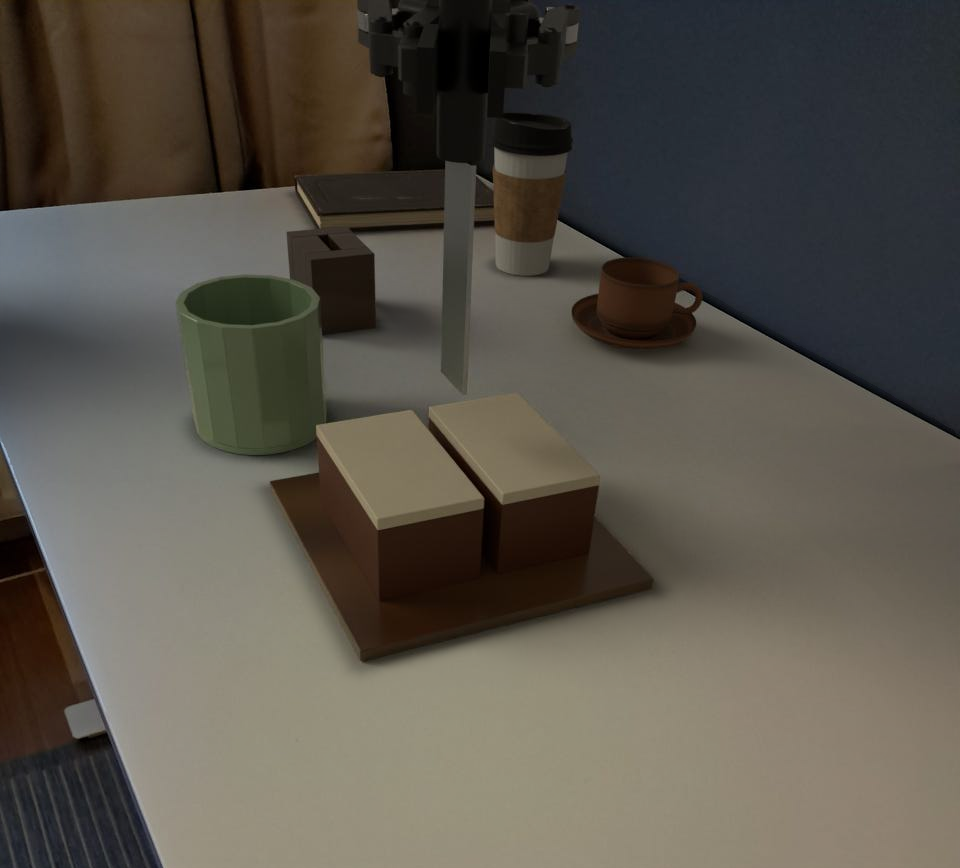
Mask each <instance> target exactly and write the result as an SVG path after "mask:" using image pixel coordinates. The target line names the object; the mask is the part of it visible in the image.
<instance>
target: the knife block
mask: <svg viewBox="0 0 960 868" xmlns="http://www.w3.org/2000/svg"><path fill="white" fill-rule="evenodd" d="M286 244H287V246H286V247H287V260H288V270H289V272H288V273H289V279H292V280H296V281H298V282H300V283H303V284H305V285H307V286H309V287H311V288H313V290H314V291H315V292H316V293H317V295H318V296H319V297H320V306H321V323H322V336H324V335H330V334H331V335H332V334H339V333H345V332H354V331H362V330H369V329H370V330H371V329H376V328H377V312H376V311H377V307H376V306H377V305H376V303H377V302H376V262H375V261H376V259H375V253H374V252H373V250H371V249H370V248H369V247H368V246H367V245H366V244H365V243H364V242H363V241H362V240H361V239H360V238H359V237H358V236H357V235H356V234H355V232H352V231H351V230H350V229H349V228H348V227H347V226H345V227H334V228H322V229H316V228H311V229H301V230H291V231H286Z"/></svg>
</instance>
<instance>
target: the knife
mask: <svg viewBox="0 0 960 868" xmlns="http://www.w3.org/2000/svg"><path fill="white" fill-rule="evenodd" d="M491 16H492V0H439V45H438V91H437V96H436V150H435V151H436V154H435V155H436V157H437V158H438V159H440V160H442V161H444V162H445V163H444V164H445V165H444V170H445V203H444V227H443V247H442V248H443V249H442V250H443V253H442V256H443V257H442V258H443V259H442V298H441V299H442V301H441V340H440V341H441V343H440V345H441V346H440V372H441V374H443V376H444V377H445V378H446V379H447V380H448V381H449V382H450V384H452V386H454V387H455V388H456V390H457V391H458V392H459V393H460V394H461V395H462V396H466V395H467V394H468V380H469V379H468V377H469V353H470V351H469V350H470V330H471V329H470V328H471V327H470V326H471V308H472V307H471V304H472V280H473V259H474V233H475V229H474V228H475V225H474V210H475V186H476V176H477V165H476V164H475V163H479V162H482V161H483V160H485V158H486V144H487V143H486V141H487V125H488V124H487V122H488V117H487V99H488V74H489V53H490V31H491Z"/></svg>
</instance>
